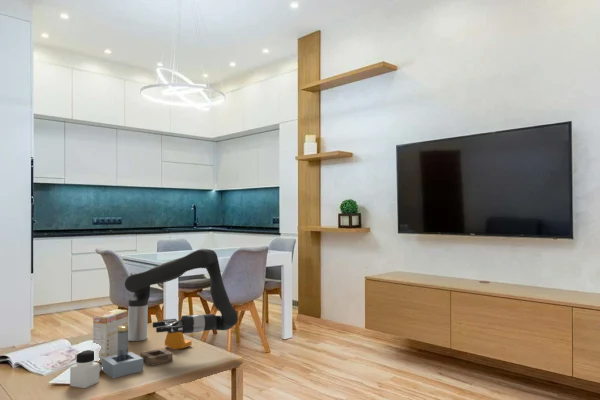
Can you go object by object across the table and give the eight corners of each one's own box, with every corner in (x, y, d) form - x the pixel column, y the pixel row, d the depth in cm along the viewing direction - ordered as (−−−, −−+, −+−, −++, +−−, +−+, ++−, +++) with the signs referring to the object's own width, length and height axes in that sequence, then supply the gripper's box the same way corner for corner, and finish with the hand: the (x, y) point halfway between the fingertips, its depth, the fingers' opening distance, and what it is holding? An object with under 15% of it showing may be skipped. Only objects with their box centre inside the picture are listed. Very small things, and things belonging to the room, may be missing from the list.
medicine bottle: (99, 382, 168) (100, 349, 168) (84, 388, 161) (85, 355, 162) (84, 379, 170) (85, 347, 171) (69, 386, 164) (70, 353, 164)
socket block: (140, 359, 194) (140, 353, 194) (161, 355, 201) (161, 348, 201) (150, 365, 186) (150, 358, 187) (172, 360, 193) (172, 353, 193)
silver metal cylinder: (115, 366, 181) (115, 326, 181) (125, 364, 183) (126, 325, 184) (119, 369, 178) (119, 329, 178) (129, 366, 180) (130, 327, 181)
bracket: (192, 346, 215) (192, 321, 215) (181, 350, 208) (182, 324, 209) (175, 343, 220) (175, 318, 220) (164, 347, 213) (165, 321, 214)
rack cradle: (101, 370, 181) (101, 357, 181) (130, 363, 189) (131, 351, 189) (112, 378, 172) (113, 365, 172) (143, 370, 180) (143, 358, 180)
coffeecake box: (114, 351, 206) (115, 308, 207) (128, 352, 204) (128, 309, 205) (91, 361, 191) (92, 315, 192) (105, 363, 189) (106, 316, 190)
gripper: (188, 311, 202) (151, 314, 195) (197, 318, 190) (157, 322, 182) (188, 328, 202) (151, 332, 195) (196, 336, 190) (157, 340, 182)
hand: (154, 327), depth 188 cm, fingers open, 8 cm apart
